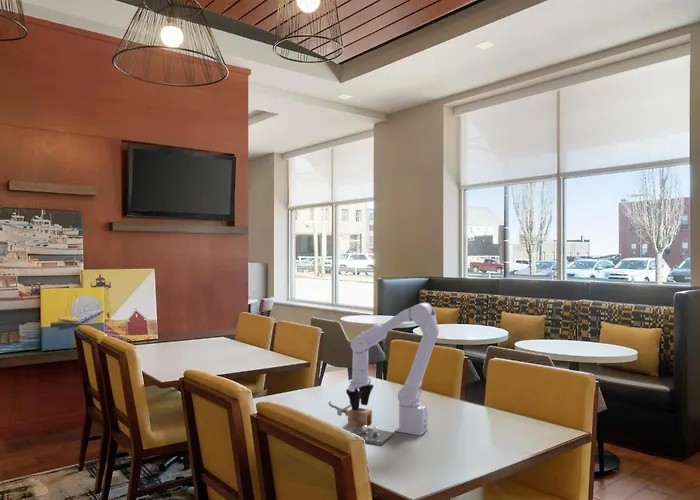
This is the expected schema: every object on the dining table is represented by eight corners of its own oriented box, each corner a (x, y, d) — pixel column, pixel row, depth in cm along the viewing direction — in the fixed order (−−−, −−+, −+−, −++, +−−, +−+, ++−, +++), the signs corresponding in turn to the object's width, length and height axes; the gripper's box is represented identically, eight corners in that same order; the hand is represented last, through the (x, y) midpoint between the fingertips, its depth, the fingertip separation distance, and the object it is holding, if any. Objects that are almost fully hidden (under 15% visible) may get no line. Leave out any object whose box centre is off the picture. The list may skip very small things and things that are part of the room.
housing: (371, 423, 192) (371, 409, 192) (365, 427, 187) (365, 413, 187) (354, 421, 195) (354, 407, 195) (347, 424, 191) (348, 410, 191)
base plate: (394, 435, 179) (394, 424, 179) (381, 445, 170) (381, 434, 170) (359, 429, 185) (359, 419, 185) (345, 439, 175) (345, 428, 175)
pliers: (349, 399, 223) (364, 412, 204) (349, 401, 223) (364, 415, 204) (326, 401, 220) (340, 414, 201) (326, 403, 220) (340, 417, 201)
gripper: (358, 364, 200) (358, 401, 200) (341, 371, 187) (340, 410, 187) (376, 366, 197) (375, 403, 196) (359, 374, 184) (358, 413, 183)
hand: (359, 407), depth 191 cm, fingers open, 7 cm apart
